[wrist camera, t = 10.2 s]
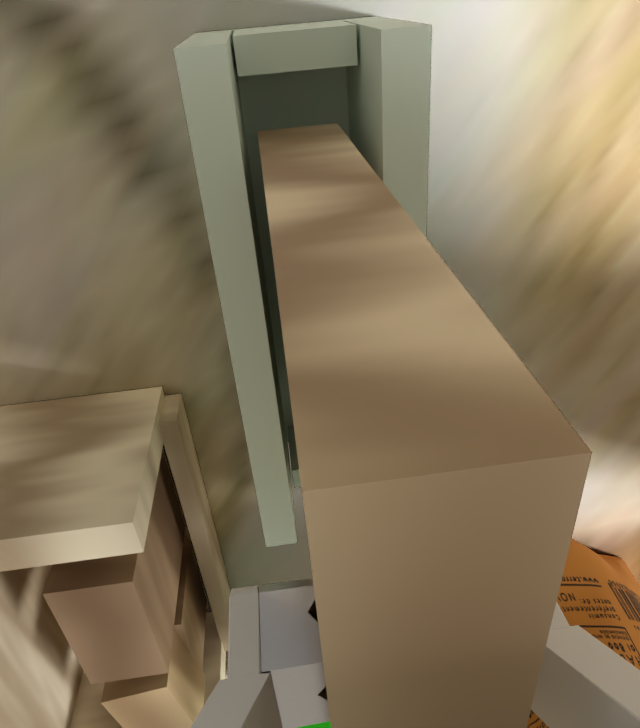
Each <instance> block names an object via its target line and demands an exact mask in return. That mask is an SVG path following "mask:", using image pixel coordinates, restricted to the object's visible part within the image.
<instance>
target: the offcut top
mask: <svg viewBox="0 0 640 728" xmlns="http://www.w3.org/2000/svg"><path fill="white" fill-rule="evenodd" d="M204 691H205V674H204V673H203V671H202V670H201V668H200V667H199V665H198V664H197V662H196V661H195V659H194V658H193V656H192V655H191V653H190V652H189V650H188V649H187V647H186V646H185V644H184V643H183V641H182V640H181V638H180V636H179V635H178V633H177V632H176V630H175V629H174V630H173V639H172V648H171V656H170V665H169V673H165V674H158V675H151V676H145V677H138V678H131V679H124V680H117V681H110V682H105V684H104V689H103V694H102V699H101V704H102V705H103V706H104V707H105V708H106V709H107V711H108V712H109V713H110V714H111V715H112V716H113V717H114V718H115V720H116V721H117V722H118V723H119V724H120V725H121V726H122V727H123V728H191V726H192V724H193V723H194V721H195V719H196V718H197V716H198V714H199V713H200V711H201V709H202V708H203V706H204Z"/></svg>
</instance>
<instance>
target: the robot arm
mask: <svg viewBox="0 0 640 728" xmlns="http://www.w3.org/2000/svg"><path fill="white" fill-rule="evenodd" d="M531 710H532V711H533V712H534V713H535V714H536V715H537V716H538V717H539V718H540V719H541V720H542V721H543V722H544V723H545V724H546V725H547V726H548V727H549V728H640V670H639V669H637V668H636V667H635V666H633V665H632V664H630V663H629V662H628V661H626V660H625V659H624V658H622V657H621V656H619V655H618V654H617V653H615V652H614V651H613V650H611V649H610V648H608V647H607V646H606V645H604V644H603V643H602V642H600V641H599V640H598V639H596V638H595V637H593V636H592V635H591V634H589V633H588V632H587V631H585V630H584V629H582V628H581V627H580V626H578V625H576V626H569V624H568V622H567V620H566V618H565V616H564V614H563V612H562V611H561V609H560V607H559V605H558V603H557V602H556V606H555V610H554V614H553V618H552V623H551V627H550V631H549V635H548V639H547V644H546V648H545V652H544V656H543V660H542V665H541V669H540V673H539V677H538V681H537V686H536V690H535V694H534V698H533V702H532V707H531ZM329 721H330V715H329V707H328V699H327V691H326V683H325V675H324V667H323V659H322V650H321V642H320V634H319V626H318V618H317V610H316V602H315V594H314V586H313V579H304V580H296V581H288V582H280V583H272V584H264V585H255V586H248V587H241V588H234V589H231V592H230V597H229V634H228V679H223V680H219V681H218V683H217V685H216V686H215V688H214V690H213V691H212V693H211V695H210V696H209V698H208V699H207V701H206V703H205V704H204V706H203V708H202V709H201V711H200V713H199V714H198V716H197V718H196V719H195V721H194V723H193V724H192V726H191V728H297V727H302V726H308V725H313V724H318V723H323V722H329Z"/></svg>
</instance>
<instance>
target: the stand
mask: <svg viewBox="0 0 640 728" xmlns="http://www.w3.org/2000/svg"><path fill="white" fill-rule="evenodd" d="M431 41H432V25H430V24H424V23H417V22H411V21H404V20H398V19H391V18H384V17H378V16H375V17H364V18H353V19H342V20H331V21H320V22H309V23H298V24H287V25H276V26H265V27H254V28H243V29H233V30H222V31H211V32H200V33H194V34H193V35H191V36H190V37H189V38H187V39H186V40H185V41H183V42H182V43H180V44H179V45H178V46H176V47H175V48H173V51H174V57H175V62H176V67H177V73H178V78H179V83H180V89H181V94H182V99H183V105H184V110H185V116H186V121H187V126H188V132H189V137H190V142H191V148H192V153H193V158H194V164H195V169H196V174H197V180H198V185H199V190H200V196H201V201H202V207H203V212H204V217H205V223H206V228H207V233H208V239H209V244H210V249H211V255H212V260H213V265H214V271H215V276H216V282H217V287H218V292H219V298H220V303H221V308H222V314H223V319H224V324H225V330H226V335H227V340H228V346H229V351H230V356H231V362H232V367H233V373H234V378H235V383H236V389H237V394H238V399H239V405H240V410H241V415H242V421H243V426H244V431H245V437H246V442H247V448H248V453H249V458H250V464H251V469H252V474H253V480H254V485H255V490H256V496H257V501H258V506H259V512H260V517H261V522H262V528H263V533H264V539H265V544H266V547H272V546H279V545H286V544H293V543H297V538H296V527H295V516H294V505H293V495H292V484H291V473H290V463H289V452H288V443H289V446H290V457H291V467H292V475H293V483H294V488H295V487H301V481H300V473H299V465H298V456H297V448H296V440H295V432H294V424H293V416H292V408H291V400H290V392H289V384H288V375H287V367H286V359H285V351H284V343H283V335H282V327H281V319H280V311H279V303H278V295H277V286H276V278H275V270H274V262H273V254H272V246H271V238H270V230H269V222H268V214H267V205H266V197H265V189H264V181H263V173H262V165H261V157H260V149H259V141H258V133H257V131H263V130H273V129H283V128H293V127H303V126H313V125H324V124H334V123H337V124H338V125H339V126H340V127H341V129H342V130H343V131H344V133H345V134H346V135H347V136H348V138H349V139H350V140H351V142H352V143H353V144H354V145H355V147H356V148H357V149H358V151H359V152H360V153H361V155H362V156H363V157H364V158H365V160H366V161H367V162H368V164H369V165H370V166H371V167H372V169H373V170H374V171H375V173H376V174H377V175H378V176H379V178H380V179H381V180H382V182H383V183H384V184H385V186H386V187H387V188H388V189H389V191H390V192H391V193H392V195H393V196H394V197H395V198H396V200H397V201H398V202H399V204H400V205H401V206H402V207H403V209H404V210H405V211H406V213H407V214H408V215H409V217H410V218H411V219H412V220H413V222H414V223H415V224H416V226H417V227H418V228H419V229H420V231H421V232H422V233H423V235H424V236H425V237H426V234H427V195H428V157H429V118H430V80H431Z"/></svg>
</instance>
